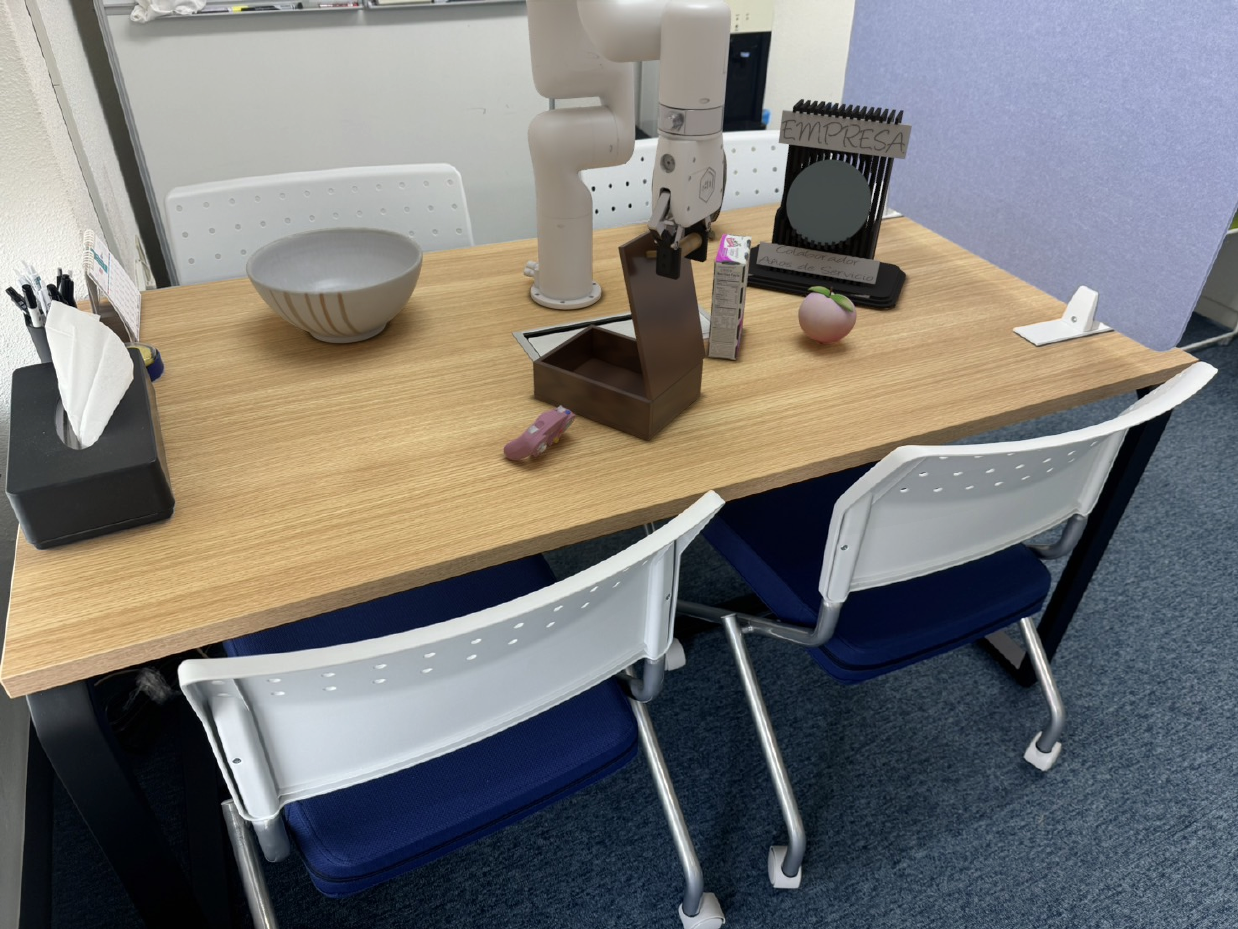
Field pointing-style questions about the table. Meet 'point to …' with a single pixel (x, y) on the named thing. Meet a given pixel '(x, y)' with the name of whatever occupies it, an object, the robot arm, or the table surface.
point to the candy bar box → (728, 296)
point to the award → (833, 205)
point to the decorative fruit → (826, 315)
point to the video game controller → (540, 434)
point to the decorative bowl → (337, 280)
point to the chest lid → (663, 312)
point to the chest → (610, 383)
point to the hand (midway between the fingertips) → (681, 266)
